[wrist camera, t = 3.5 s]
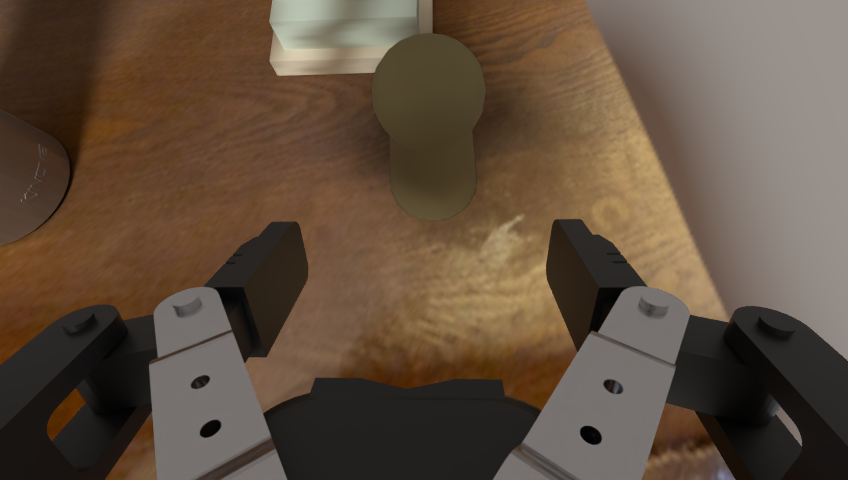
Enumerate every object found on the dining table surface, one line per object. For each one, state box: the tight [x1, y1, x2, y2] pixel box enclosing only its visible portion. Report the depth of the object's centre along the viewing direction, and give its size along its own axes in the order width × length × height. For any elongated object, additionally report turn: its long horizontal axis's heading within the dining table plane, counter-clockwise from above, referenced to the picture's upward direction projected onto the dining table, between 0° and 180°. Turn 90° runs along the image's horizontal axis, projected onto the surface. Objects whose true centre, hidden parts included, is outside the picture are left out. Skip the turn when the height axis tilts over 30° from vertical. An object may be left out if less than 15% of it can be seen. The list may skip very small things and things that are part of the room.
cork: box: [371, 33, 486, 221], centre depth 21 cm, size 6×6×11 cm
